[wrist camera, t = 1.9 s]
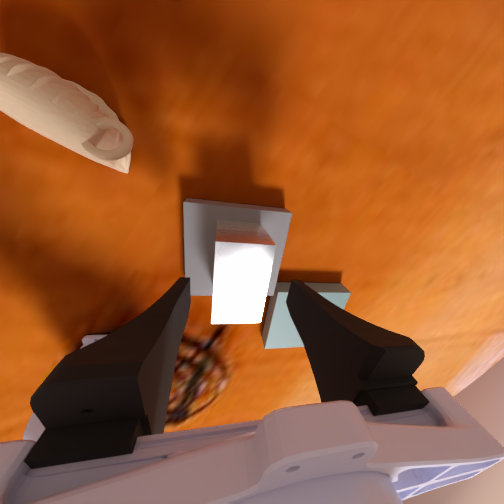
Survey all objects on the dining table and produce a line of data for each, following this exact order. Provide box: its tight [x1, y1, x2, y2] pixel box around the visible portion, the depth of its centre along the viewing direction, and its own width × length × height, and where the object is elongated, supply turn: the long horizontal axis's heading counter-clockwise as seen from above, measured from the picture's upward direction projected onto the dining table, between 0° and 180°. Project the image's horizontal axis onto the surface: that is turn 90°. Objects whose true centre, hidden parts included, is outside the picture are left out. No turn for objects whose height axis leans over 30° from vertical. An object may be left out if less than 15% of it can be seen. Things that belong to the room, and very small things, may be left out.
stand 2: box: [262, 282, 351, 349], centre depth 24 cm, size 10×10×2 cm
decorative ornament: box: [0, 53, 134, 173], centre depth 11 cm, size 4×8×5 cm, turn 57°
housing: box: [211, 220, 276, 324], centre depth 15 cm, size 4×7×5 cm, turn 172°
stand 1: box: [183, 198, 292, 296], centre depth 18 cm, size 10×10×2 cm
